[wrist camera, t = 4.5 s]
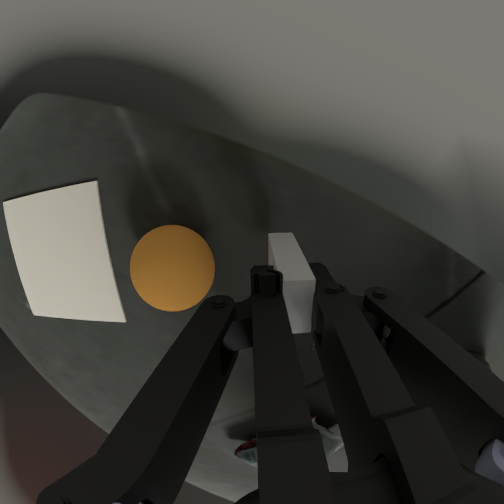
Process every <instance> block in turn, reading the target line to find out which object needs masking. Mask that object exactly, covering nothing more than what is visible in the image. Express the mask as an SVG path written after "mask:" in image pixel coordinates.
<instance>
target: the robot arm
mask: <svg viewBox="0 0 504 504" xmlns="http://www.w3.org/2000/svg"><path fill="white" fill-rule="evenodd" d="M312 324H313V327H314V332H313V340H312V348H311V352H313V351H314V348H315V347H316V350H317V353H318V357H319V360H320V363H321V366H322V370H323V373H324V376H325V380H326V383H327V387H328V390H329V393H330V397H331V400H332V404H333V407H334V411H335V414H336V418H337V421H338V425H339V429H340V432H341V436H342V440H343V443H344V447H345V451H346V455H347V458H348V472H329V469H328V464H327V460H326V455H325V451H324V446H323V442H322V438H321V434H320V432H319V430H318V429H314V427H313V424H312V419H311V414H310V410H309V405H308V400H307V396H306V391H305V387H304V382H303V378H302V373H301V369H300V364H299V360H298V355H297V351H296V347H295V342H294V338H293V334H295V333H309V332H311V326H312ZM386 326H387V327H389V328H390V330H391V331H390V335H389V337H388V336H387V335H385V330H386ZM249 347H253V362H254V389H255V415H256V441H257V466H258V489H256V490H254V491H252V492H250V493H248V494H247V495H245V496H244V497H242V498H241V499H239V500H238V501H237V502H235V503H234V504H504V382H503V381H502V380H501V379H499V378H498V377H497V376H496V375H495V374H494V373H493V372H492V371H491V368H490V365H489V364H488V362H487V361H486V360H485V359H484V358H483V357H482V355H481V354H479V353H477V352H468V351H467V350H465V349H464V348H463V347H462V346H460V345H459V344H458V343H457V342H455V341H454V340H453V339H452V338H451V337H449V336H448V335H447V334H446V333H444V332H443V331H442V330H440V329H439V328H438V327H437V326H435V325H434V324H433V323H432V322H430V321H429V320H428V319H426V318H425V317H424V316H423V315H421V314H420V313H419V312H417V311H416V310H415V309H413V308H412V307H411V306H409V305H408V304H407V303H405V302H404V301H403V300H401V299H400V298H399V297H397V296H396V295H395V294H393V293H392V292H391V291H389V290H387V289H384V288H382V287H372V288H369V289H367V290H366V291H365V295H364V296H354V295H351V294H350V293H349V291H348V290H347V288H346V287H344V286H343V285H340V284H337V283H335V281H334V279H333V278H332V276H331V275H330V273H329V272H328V270H327V268H326V267H325V266H324V265H322V264H321V263H307V261H306V259H305V257H304V255H303V253H302V251H301V249H300V247H299V245H298V243H297V241H296V239H295V237H294V235H293V233H268V265H264V266H254V267H253V268H252V269H251V296H250V297H249V298H248V299H246V300H244V301H242V302H238V303H235V301H234V299H233V298H231V297H228V296H224V295H216V296H212V297H210V298H207V299H206V300H205V301H204V302H203V303H202V304H201V306H200V307H199V308H198V310H197V311H196V313H195V314H194V315H193V317H192V318H191V320H190V321H189V322H188V324H187V325H186V327H185V328H184V329H183V331H182V332H181V334H180V335H179V336H178V338H177V339H176V341H175V342H174V343H173V345H172V346H171V348H170V349H169V350H168V352H167V353H166V355H165V356H164V357H163V359H162V360H161V362H160V363H159V364H158V366H157V367H156V369H155V370H154V371H153V373H152V374H151V376H150V377H149V379H148V380H147V381H146V383H145V384H144V386H143V387H142V388H141V390H140V391H139V393H138V394H137V396H136V397H135V398H134V400H133V401H132V403H131V404H130V406H129V407H128V408H127V410H126V411H125V413H124V414H123V416H122V417H121V418H120V420H119V421H118V423H117V424H116V426H115V427H114V428H113V430H112V431H111V433H110V434H109V436H108V437H107V439H106V440H105V442H104V443H103V444H102V446H101V447H100V449H99V450H98V452H97V453H96V454H95V455H94V456H93V457H91V458H90V459H88V460H87V461H85V462H84V463H83V464H81V465H80V466H78V467H77V468H75V469H74V470H72V471H71V472H69V473H68V474H66V475H65V476H63V477H62V478H60V479H59V480H57V481H55V482H54V483H52V484H51V485H49V486H48V487H46V488H45V489H44V490H43V491H42V492H41V493H40V494H39V496H38V499H37V501H36V502H37V504H173V503H174V501H175V499H176V497H177V495H178V493H179V491H180V489H181V487H182V485H183V483H184V480H185V478H186V476H187V474H188V471H189V469H190V467H191V465H192V463H193V460H194V458H195V456H196V453H197V451H198V449H199V447H200V444H201V442H202V440H203V437H204V435H205V433H206V431H207V428H208V426H209V424H210V421H211V419H212V417H213V414H214V412H215V409H216V407H217V405H218V402H219V400H220V398H221V395H222V393H223V390H224V388H225V386H226V383H227V381H228V378H229V376H230V374H231V371H232V369H233V366H234V364H235V361H236V359H237V356H238V350H241V349H245V348H249Z"/></svg>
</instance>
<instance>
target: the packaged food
mask: <svg viewBox="0 0 504 504" xmlns="http://www.w3.org/2000/svg"><path fill="white" fill-rule="evenodd" d="M315 418H316V416H315V417H312V416H311V419H312V424H313V427H314V429H318V430H319V432H320V434H321V438H322V442H323V446H324V451H325V455H326V457H328V456H329V455H331V454H332V453H333V452H335V451H337V450H339V448H340V447H341V446H342V445H344V443H343V440H342V437H341V435H340V434H337V433H332V432H330V430H328V429H327V428H324V427H322V426H320V425H318V424H317V423H316V421H315ZM233 453H235V454H234V455H236V456H237V457H238V458H239V459H241V460H243V461H245V462H247V463H248V464H250V465H252V466H254V467H256V468H258V466H257V441H256V438H254V439H252V440H250V441H248V442H246V443H243V444H241V445H240V446H239V447H238V448H237V449H236V450H234V451H233Z"/></svg>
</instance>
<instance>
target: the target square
mask: <svg viewBox="0 0 504 504" xmlns="http://www.w3.org/2000/svg"><path fill="white" fill-rule="evenodd" d="M3 206H4V212H5V218H6V223H7V228H8V233H9V237H10V241H11V246H12V250H13V254H14V257H15V261H16V264H17V268H18V271H19V275H20V278H21V281H22V284H23V287H24V290H25V293H26V296H27V299H28V301H29V304H30V307H31V309H32V312H33V314H34V315H38V316H47V317H57V318H67V319H79V320H93V321H110V322H126V321H127V320H126V317H125V314H124V310H123V307H122V303H121V299H120V296H119V292H118V288H117V284H116V280H115V276H114V272H113V267H112V263H111V258H110V254H109V249H108V244H107V239H106V233H105V228H104V222H103V216H102V209H101V202H100V195H99V187H98V181H92V182H87V183H81V184H76V185H71V186H67V187H62V188H57V189H53V190H48V191H44V192H40V193H36V194H32V195H28V196H24V197H20V198H17V199H13V200H9V201H6V202H3Z"/></svg>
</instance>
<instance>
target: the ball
mask: <svg viewBox="0 0 504 504" xmlns="http://www.w3.org/2000/svg"><path fill="white" fill-rule="evenodd" d="M214 273H215V263H214V258H213V254H212V252H211V249H210V247H209V246H208V244H207V243H206V241H205V240H204V239H203V238H202V237H201V236H200V235H199V234H197V233H196V232H195V231H193V230H191V229H189V228H187V227H184V226H180V225H165V226H161V227H157V228H155V229H153V230H151V231H150V232H148V233H147V234H145V235H144V236H143V237H142V238H141V239H140V241H139V242H138V243H137V245H136V246H135V248H134V251H133V253H132V256H131V261H130V274H131V279H132V283H133V285H134V287H135V289H136V291H137V292H138V294H139V295H140V296H141V298H142V299H143V300H144V301H146V302H147V303H148V304H150V305H151V306H153V307H155V308H157V309H160V310H164V311H181V310H185V309H188V308H190V307H192V306H194V305H196V304H197V303H198V302H200V301H201V300H202V299H203V298H204V297H205V295H206V294H207V293H208V291H209V290H210V287H211V285H212V283H213V279H214Z"/></svg>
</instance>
